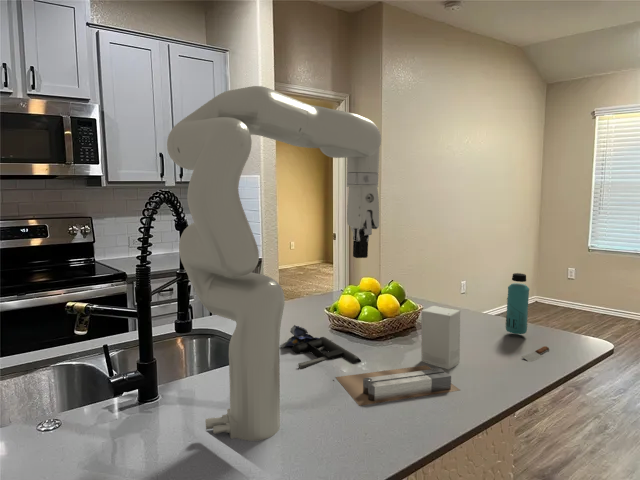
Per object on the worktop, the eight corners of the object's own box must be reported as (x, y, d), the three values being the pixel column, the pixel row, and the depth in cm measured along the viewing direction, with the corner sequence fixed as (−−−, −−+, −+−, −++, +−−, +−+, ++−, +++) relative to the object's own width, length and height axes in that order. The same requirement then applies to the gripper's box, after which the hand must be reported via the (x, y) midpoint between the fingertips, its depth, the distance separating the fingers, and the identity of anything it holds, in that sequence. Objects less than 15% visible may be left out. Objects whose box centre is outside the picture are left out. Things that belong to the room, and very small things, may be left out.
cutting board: (359, 412, 100) (359, 405, 100) (335, 383, 114) (335, 377, 114) (460, 396, 107) (460, 390, 107) (426, 370, 122) (426, 365, 121)
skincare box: (460, 368, 123) (462, 310, 121) (447, 375, 119) (450, 315, 117) (431, 359, 129) (433, 304, 127) (418, 366, 124) (420, 309, 122)
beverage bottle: (528, 334, 150) (532, 273, 148) (524, 340, 145) (529, 276, 142) (506, 330, 154) (510, 270, 151) (502, 336, 148) (506, 274, 146)
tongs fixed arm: (370, 401, 101) (370, 387, 101) (366, 397, 103) (366, 383, 103) (450, 389, 108) (451, 375, 107) (445, 385, 110) (446, 372, 109)
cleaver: (535, 362, 126) (519, 353, 130) (533, 367, 127) (517, 358, 131) (561, 353, 134) (545, 344, 138) (559, 357, 134) (543, 349, 138)
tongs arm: (365, 395, 104) (365, 382, 104) (361, 391, 106) (361, 378, 106) (444, 384, 110) (444, 371, 110) (439, 380, 112) (440, 368, 112)
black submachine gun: (311, 370, 116) (365, 355, 124) (278, 345, 134) (327, 333, 141) (312, 383, 117) (365, 367, 124) (279, 356, 134) (328, 344, 142)
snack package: (278, 339, 146) (280, 352, 135) (281, 319, 146) (284, 330, 134) (316, 344, 148) (321, 356, 136) (319, 324, 148) (325, 335, 136)
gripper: (390, 181, 105) (387, 262, 108) (365, 181, 120) (363, 252, 122) (359, 180, 103) (356, 262, 105) (337, 180, 118) (335, 253, 120)
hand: (360, 257), depth 114 cm, fingers closed
